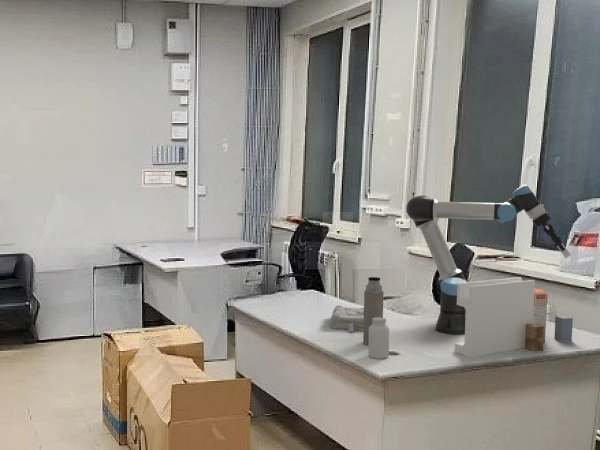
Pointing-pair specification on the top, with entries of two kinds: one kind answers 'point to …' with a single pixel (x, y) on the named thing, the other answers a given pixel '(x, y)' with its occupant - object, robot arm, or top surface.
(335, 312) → the gray tool case
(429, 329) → the top surface
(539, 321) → the cracker box
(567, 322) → the slate block
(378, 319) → the pill bottle
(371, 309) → the thermos bottle
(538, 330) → the walnut block
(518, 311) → the block
